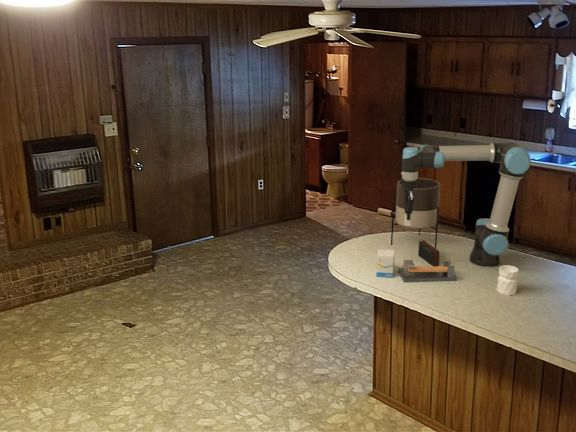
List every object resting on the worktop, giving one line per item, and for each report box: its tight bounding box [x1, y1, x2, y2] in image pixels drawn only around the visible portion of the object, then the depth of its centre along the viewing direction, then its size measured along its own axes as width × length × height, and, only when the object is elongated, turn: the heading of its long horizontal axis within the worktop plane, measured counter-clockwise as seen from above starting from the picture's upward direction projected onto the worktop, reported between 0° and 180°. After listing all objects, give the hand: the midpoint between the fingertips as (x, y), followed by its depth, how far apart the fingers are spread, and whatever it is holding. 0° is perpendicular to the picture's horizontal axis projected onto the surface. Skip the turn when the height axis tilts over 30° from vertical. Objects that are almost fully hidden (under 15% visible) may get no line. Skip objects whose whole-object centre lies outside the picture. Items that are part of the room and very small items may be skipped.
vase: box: [496, 264, 520, 295], centre depth 299 cm, size 9×9×12 cm
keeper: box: [402, 259, 416, 275], centre depth 316 cm, size 4×7×6 cm, turn 3°
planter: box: [390, 177, 441, 249], centre depth 358 cm, size 26×25×35 cm
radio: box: [417, 239, 441, 267], centre depth 335 cm, size 19×3×15 cm, turn 18°
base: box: [397, 259, 458, 283], centre depth 318 cm, size 26×13×8 cm, turn 93°
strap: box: [408, 265, 447, 272], centre depth 316 cm, size 21×5×1 cm, turn 93°
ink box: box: [375, 248, 396, 279], centre depth 321 cm, size 9×8×12 cm
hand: (407, 225), depth 319 cm, fingers closed
